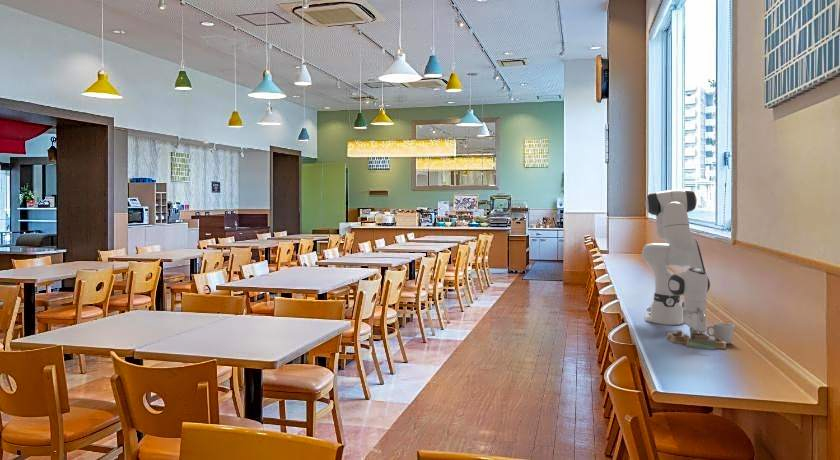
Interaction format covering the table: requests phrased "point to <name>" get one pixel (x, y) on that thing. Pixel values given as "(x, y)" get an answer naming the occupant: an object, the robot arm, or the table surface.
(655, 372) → the table surface
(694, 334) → the block
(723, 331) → the cup
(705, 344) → the wooden flat frame
